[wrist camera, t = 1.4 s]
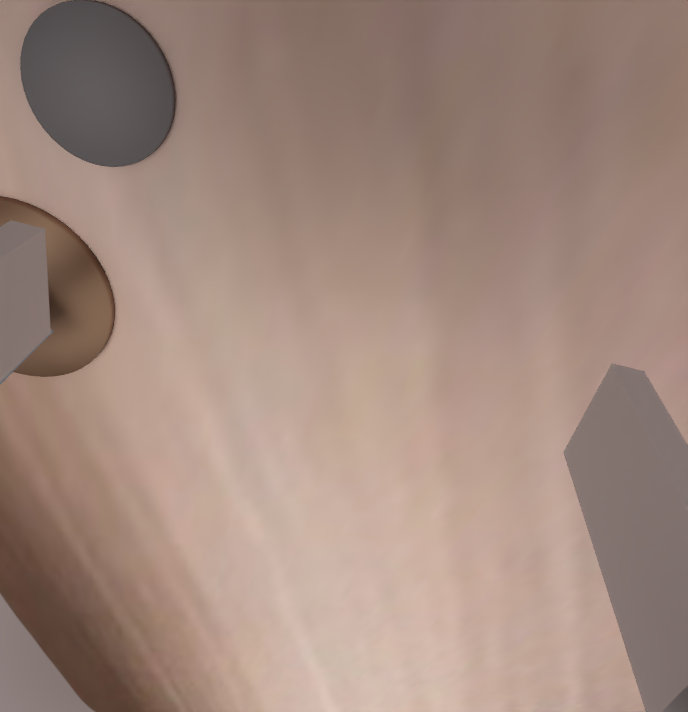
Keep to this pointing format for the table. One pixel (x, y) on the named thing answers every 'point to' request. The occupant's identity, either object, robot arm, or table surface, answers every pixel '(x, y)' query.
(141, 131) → the coaster
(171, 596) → the table surface
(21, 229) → the robot arm
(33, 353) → the post stand
